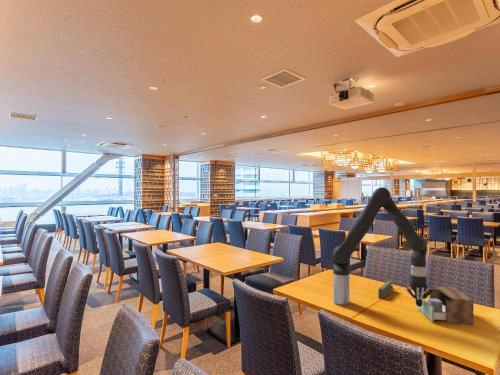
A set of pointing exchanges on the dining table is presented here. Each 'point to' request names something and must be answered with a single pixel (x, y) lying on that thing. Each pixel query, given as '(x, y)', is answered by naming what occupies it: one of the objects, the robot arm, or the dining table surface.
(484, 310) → the dining table surface
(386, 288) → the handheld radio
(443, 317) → the tray
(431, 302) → the slate block
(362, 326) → the dining table surface
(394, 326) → the dining table surface
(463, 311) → the open wooden box
